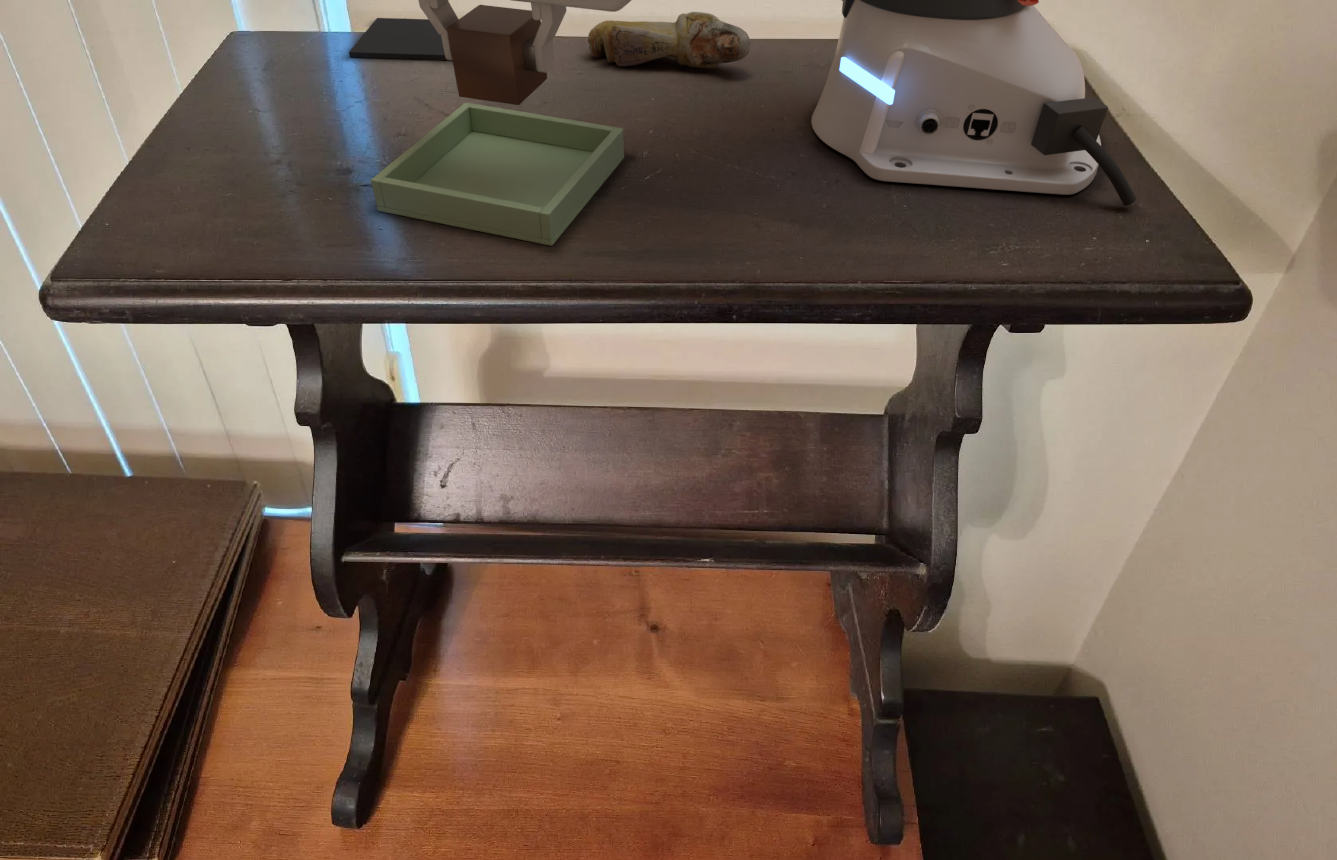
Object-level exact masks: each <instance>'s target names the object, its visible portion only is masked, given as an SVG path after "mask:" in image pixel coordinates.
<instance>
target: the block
mask: <svg viewBox="0 0 1337 860" xmlns="http://www.w3.org/2000/svg"><path fill="white" fill-rule="evenodd" d="M458 19H459V20H457V21H456V22H454V23H453V24H452V25H450V26H449V27H447V33H448V39H449V44H450V50H451V55H452V60H451V61H452V66H453V70H454V77H455V83H456V88H457V93H458V97H459V98H464V99H465V98H466V99H472V100H479V101H487V102H492V103H493V102H494V103H500V104H507V105H513V106H520V105H522V103H523V102H524V101H525V100H526V99H527V98H528V97H530V95H532V94H533V93H534V92H535V91H536V90H537V89H538V88H539V87H540V86H541V85H542V84H544V83H545V81H547V80H548V72H547V73H543V72H535V71H528V70H526V69H525V67H524V60H525V59H524V57H523V52H522V44H524V43H525V42H526V41H528V40H529V39H530V38H531V37H532V36H533V35H535V36H536V34H537V32H538V29H539V27H540V24H541V22H542V20H534V19H533V16H532V9H531V10H530V9H523V8H521V9H520V8H513V7H504V6H496V5H495V6H494V5H485V4H478V5H476V6H475V7H474V8H473V9H471V10H470V11H469V12H467V13H465V14H464V15H463V16H461V17H460V18H458Z"/></svg>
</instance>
